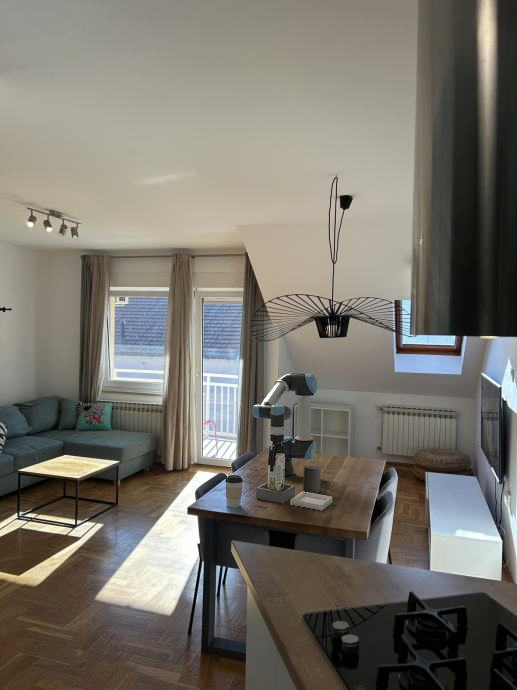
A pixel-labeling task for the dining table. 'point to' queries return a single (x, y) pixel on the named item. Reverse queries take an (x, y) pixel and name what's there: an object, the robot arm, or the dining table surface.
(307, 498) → the tray
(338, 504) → the dining table surface
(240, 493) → the coffee cup
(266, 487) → the grey open box
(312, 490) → the pillar candle
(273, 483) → the juice carton
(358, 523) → the dining table surface
